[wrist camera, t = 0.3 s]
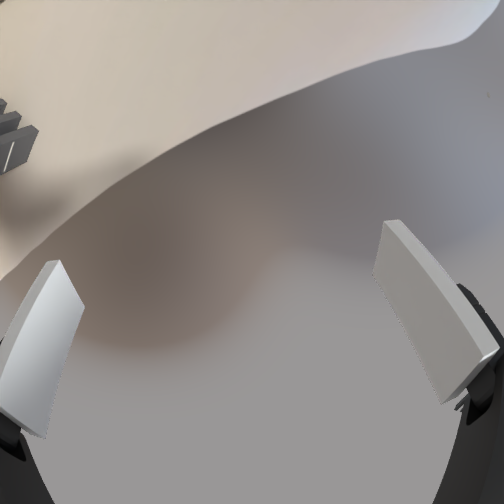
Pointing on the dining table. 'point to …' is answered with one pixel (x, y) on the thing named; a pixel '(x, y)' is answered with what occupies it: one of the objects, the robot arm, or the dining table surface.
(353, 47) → the dining table surface
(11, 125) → the domino
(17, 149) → the domino
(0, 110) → the domino
